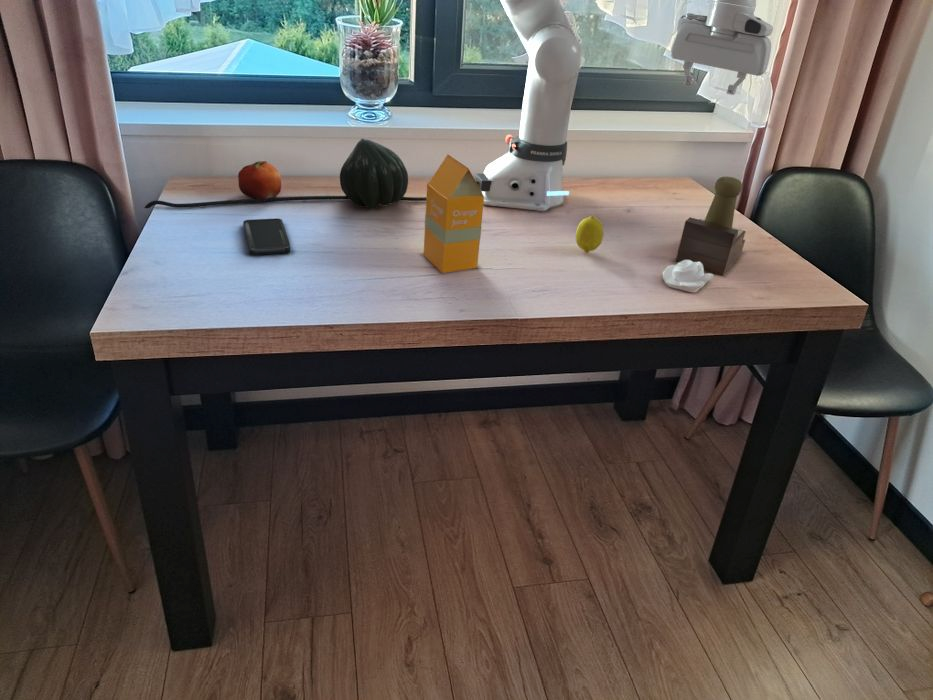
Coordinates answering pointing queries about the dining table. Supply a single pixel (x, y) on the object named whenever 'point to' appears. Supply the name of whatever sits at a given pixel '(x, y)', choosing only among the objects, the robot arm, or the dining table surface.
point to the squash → (373, 175)
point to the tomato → (259, 180)
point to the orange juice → (453, 218)
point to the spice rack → (710, 245)
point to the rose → (686, 276)
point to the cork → (724, 201)
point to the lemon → (589, 234)
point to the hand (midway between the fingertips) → (708, 89)
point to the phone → (266, 236)
